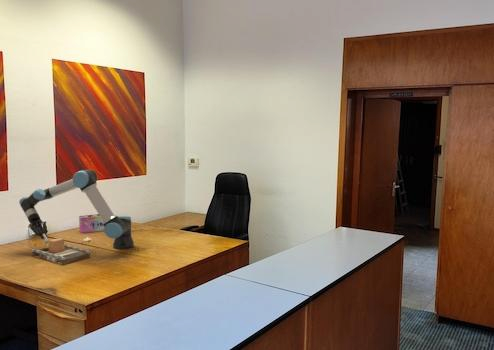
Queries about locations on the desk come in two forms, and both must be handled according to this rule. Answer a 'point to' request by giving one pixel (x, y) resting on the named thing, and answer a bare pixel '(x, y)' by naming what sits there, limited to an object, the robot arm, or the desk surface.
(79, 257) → the rail track section
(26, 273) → the desk surface
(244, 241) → the desk surface
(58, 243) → the terracotta block
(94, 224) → the gum box
